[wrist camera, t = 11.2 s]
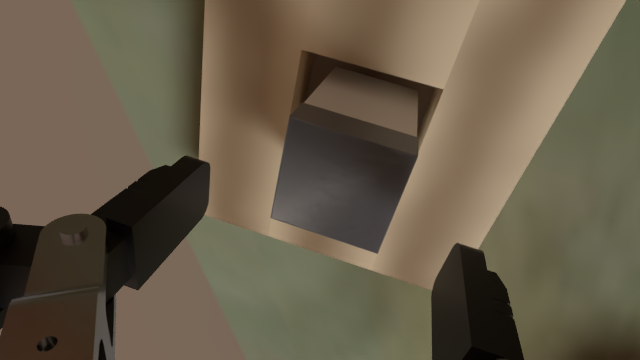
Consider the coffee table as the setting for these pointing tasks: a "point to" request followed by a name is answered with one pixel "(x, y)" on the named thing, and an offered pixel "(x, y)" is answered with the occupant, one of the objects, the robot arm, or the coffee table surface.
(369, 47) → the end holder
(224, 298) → the coffee table surface
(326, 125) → the connector plug
